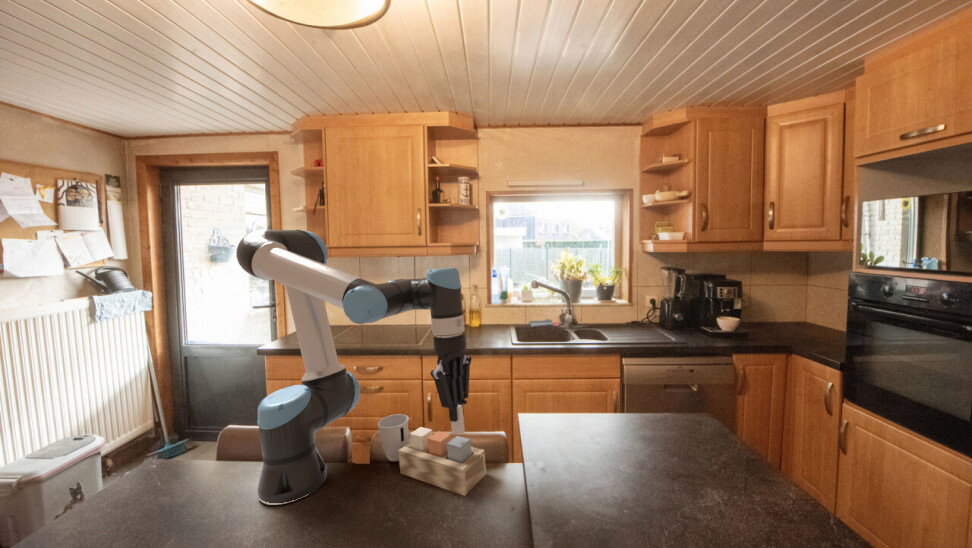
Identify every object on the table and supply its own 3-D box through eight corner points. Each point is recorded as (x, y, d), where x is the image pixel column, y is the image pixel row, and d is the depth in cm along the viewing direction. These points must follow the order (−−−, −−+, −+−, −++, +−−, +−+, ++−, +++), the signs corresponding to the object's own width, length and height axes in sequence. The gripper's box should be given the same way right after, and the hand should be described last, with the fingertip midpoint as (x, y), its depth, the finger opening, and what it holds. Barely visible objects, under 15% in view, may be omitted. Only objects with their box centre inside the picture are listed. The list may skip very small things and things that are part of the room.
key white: (412, 456, 95) (409, 433, 94) (422, 448, 98) (420, 426, 98) (423, 460, 92) (421, 436, 92) (434, 452, 96) (432, 429, 95)
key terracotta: (429, 462, 91) (427, 438, 91) (440, 454, 95) (438, 431, 94) (442, 466, 89) (440, 441, 89) (452, 457, 92) (450, 434, 92)
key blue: (449, 468, 88) (446, 443, 88) (459, 459, 91) (457, 435, 91) (462, 472, 86) (460, 447, 86) (472, 463, 89) (470, 439, 89)
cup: (404, 465, 97) (400, 427, 97) (376, 463, 99) (372, 427, 98) (416, 448, 105) (413, 414, 105) (390, 447, 107) (386, 414, 106)
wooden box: (400, 473, 94) (398, 450, 93) (424, 455, 101) (422, 433, 101) (464, 495, 83) (462, 469, 83) (486, 473, 90) (484, 450, 90)
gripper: (443, 341, 79) (454, 449, 81) (477, 328, 90) (486, 423, 92) (417, 339, 83) (428, 442, 85) (453, 327, 94) (461, 418, 96)
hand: (458, 432), depth 88 cm, fingers closed
